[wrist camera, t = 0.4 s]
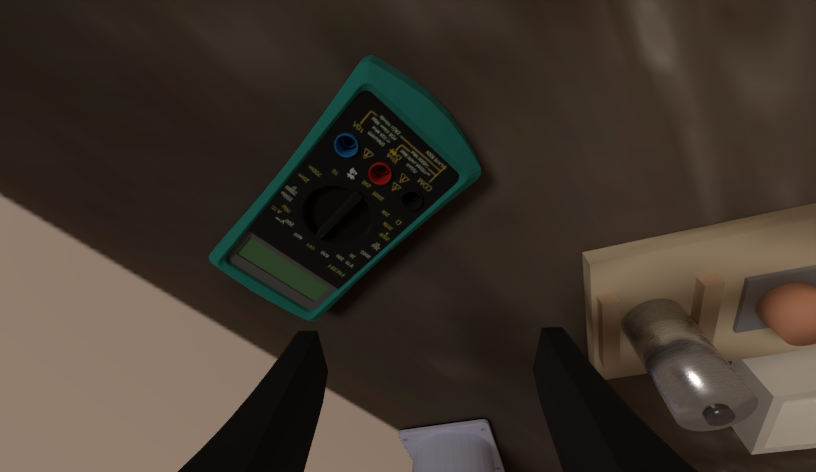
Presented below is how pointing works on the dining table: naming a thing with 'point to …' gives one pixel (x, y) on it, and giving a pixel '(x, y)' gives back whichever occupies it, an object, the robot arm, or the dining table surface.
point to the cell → (687, 367)
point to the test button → (790, 312)
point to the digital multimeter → (349, 192)
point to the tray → (779, 402)
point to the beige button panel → (700, 284)
